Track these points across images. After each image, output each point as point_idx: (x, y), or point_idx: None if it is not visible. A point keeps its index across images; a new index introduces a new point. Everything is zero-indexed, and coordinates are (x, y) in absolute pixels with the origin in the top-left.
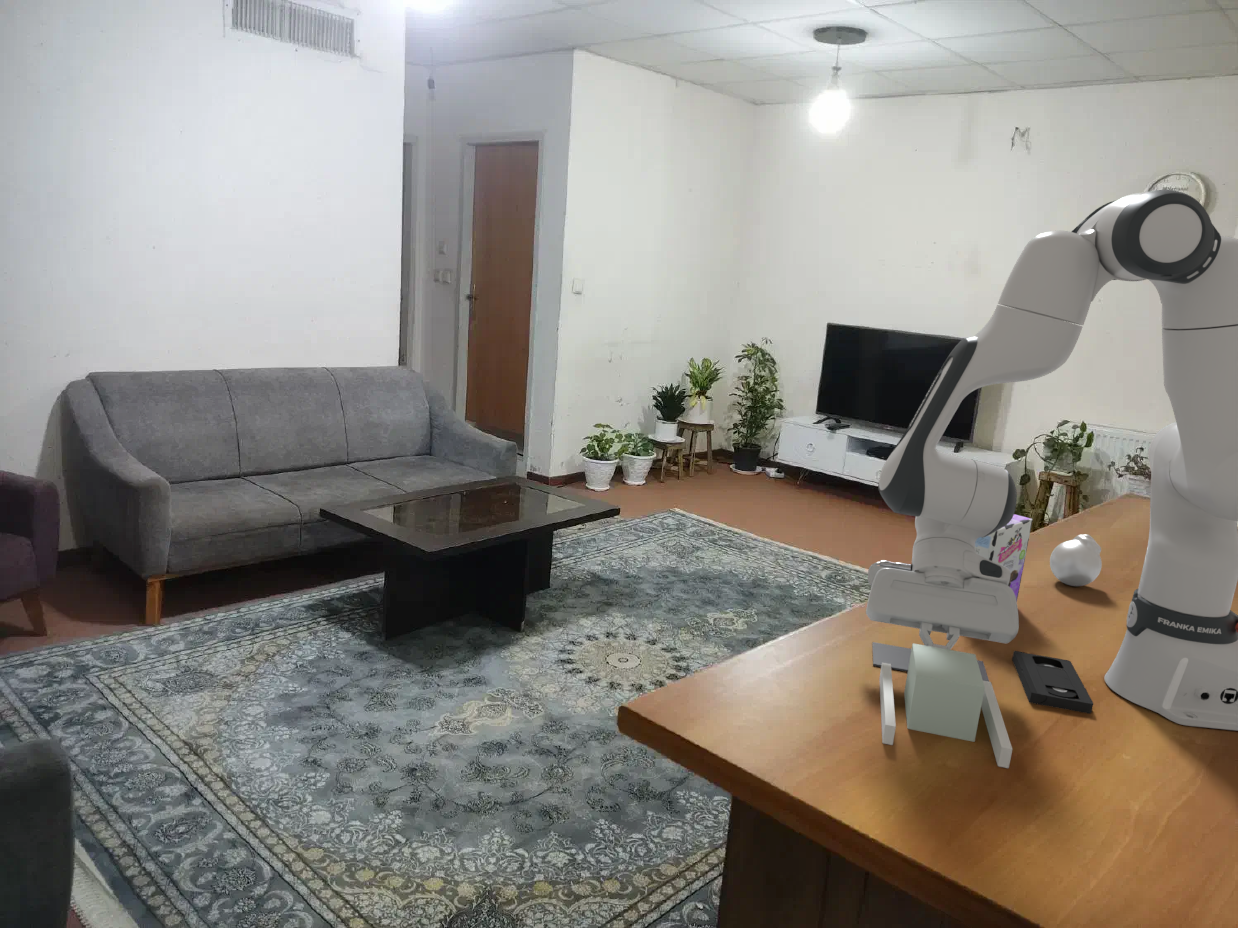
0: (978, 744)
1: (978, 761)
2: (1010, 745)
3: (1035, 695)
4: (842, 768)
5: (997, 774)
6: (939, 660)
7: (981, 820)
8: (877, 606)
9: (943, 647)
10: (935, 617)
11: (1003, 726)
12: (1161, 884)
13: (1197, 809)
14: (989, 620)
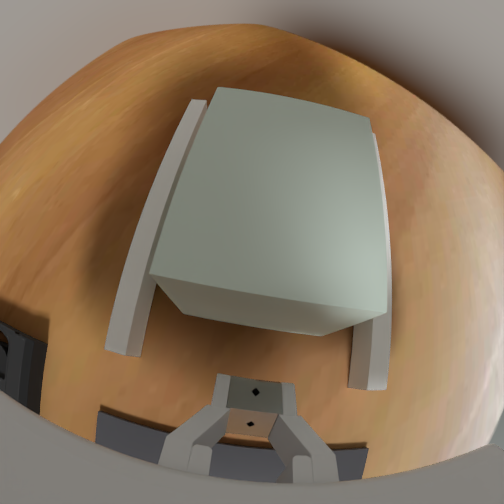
0: None
1: None
2: (189, 106)
3: (31, 339)
4: (393, 116)
5: None
6: (309, 191)
7: (264, 62)
8: (496, 456)
9: (238, 402)
10: (291, 500)
11: (171, 147)
12: (149, 43)
13: (34, 120)
14: (15, 446)
